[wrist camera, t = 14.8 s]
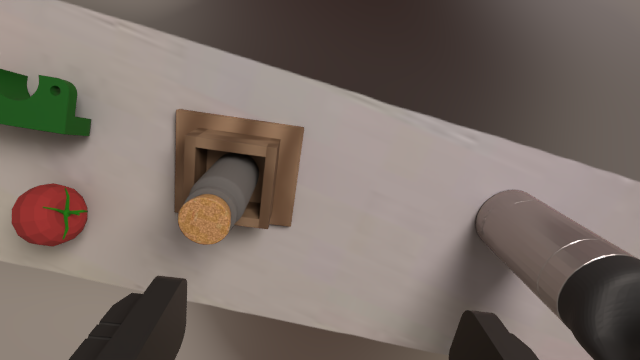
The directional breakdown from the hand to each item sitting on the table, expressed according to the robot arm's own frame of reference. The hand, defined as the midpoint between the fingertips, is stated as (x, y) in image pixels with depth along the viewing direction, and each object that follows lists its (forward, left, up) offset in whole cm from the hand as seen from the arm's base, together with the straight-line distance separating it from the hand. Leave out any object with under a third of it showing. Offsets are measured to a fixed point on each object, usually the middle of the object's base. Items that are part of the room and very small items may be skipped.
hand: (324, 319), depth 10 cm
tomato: (+31, +16, -36) cm, 50 cm away
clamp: (+33, +2, -36) cm, 49 cm away
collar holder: (+9, +8, -36) cm, 38 cm away
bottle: (+9, +8, -35) cm, 37 cm away
